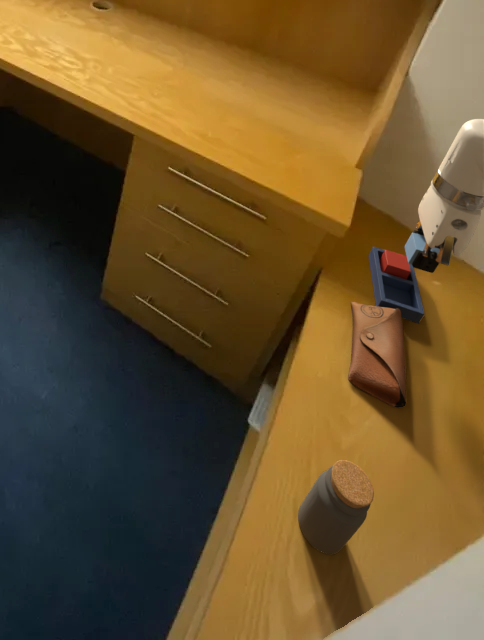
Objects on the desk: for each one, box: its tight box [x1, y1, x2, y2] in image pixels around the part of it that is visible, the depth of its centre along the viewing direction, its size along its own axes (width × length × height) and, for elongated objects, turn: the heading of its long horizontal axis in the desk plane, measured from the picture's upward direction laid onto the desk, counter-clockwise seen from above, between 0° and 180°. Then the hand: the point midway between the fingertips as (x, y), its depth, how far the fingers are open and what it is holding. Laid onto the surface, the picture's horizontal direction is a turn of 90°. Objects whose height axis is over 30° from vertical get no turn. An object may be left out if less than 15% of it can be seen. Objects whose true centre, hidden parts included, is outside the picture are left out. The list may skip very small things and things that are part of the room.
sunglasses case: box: [347, 300, 407, 409], centre depth 92 cm, size 18×7×7 cm, turn 151°
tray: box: [368, 246, 426, 324], centre depth 103 cm, size 7×13×3 cm, turn 156°
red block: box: [379, 249, 411, 279], centre depth 105 cm, size 4×4×4 cm
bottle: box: [297, 459, 375, 555], centre depth 68 cm, size 6×6×15 cm
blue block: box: [404, 232, 440, 264], centre depth 92 cm, size 4×4×4 cm
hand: (419, 257), depth 93 cm, fingers closed on blue block, 4 cm apart
